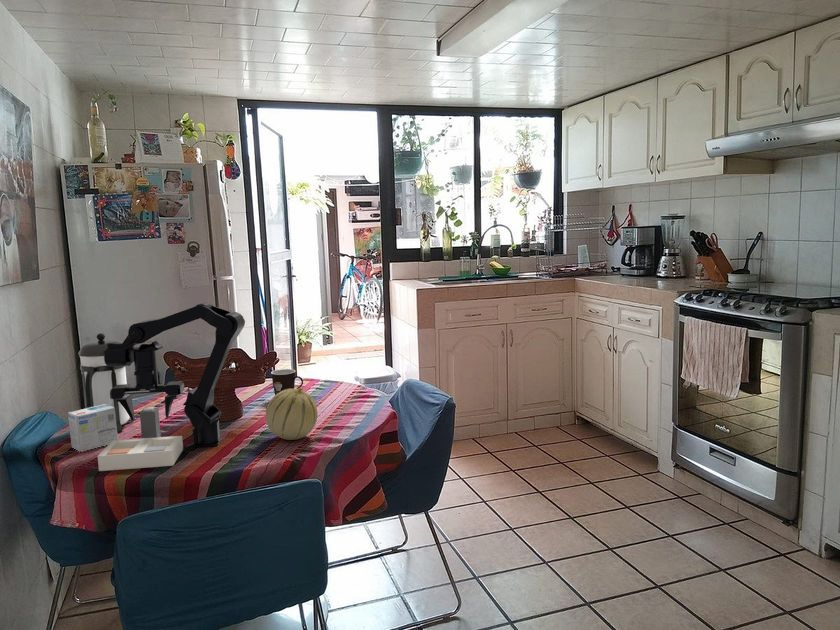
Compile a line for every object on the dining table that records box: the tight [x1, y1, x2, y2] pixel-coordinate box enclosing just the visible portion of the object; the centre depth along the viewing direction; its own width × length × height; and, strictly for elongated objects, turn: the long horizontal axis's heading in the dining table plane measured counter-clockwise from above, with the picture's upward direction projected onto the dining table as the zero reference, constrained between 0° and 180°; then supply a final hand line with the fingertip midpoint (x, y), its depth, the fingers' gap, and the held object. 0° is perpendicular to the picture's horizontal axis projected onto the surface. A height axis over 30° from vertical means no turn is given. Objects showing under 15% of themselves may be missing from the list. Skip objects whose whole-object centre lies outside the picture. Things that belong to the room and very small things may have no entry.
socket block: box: [97, 435, 184, 472], centre depth 163 cm, size 18×12×4 cm, turn 99°
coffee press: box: [78, 332, 134, 434], centre depth 188 cm, size 17×16×30 cm
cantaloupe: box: [265, 387, 319, 441], centre depth 177 cm, size 15×15×15 cm
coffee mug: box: [270, 368, 304, 396], centre depth 219 cm, size 12×9×10 cm
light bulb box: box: [67, 404, 119, 452], centre depth 175 cm, size 11×7×11 cm, turn 141°
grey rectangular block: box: [139, 406, 162, 438], centre depth 175 cm, size 4×4×11 cm
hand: (150, 419), depth 175 cm, fingers open, 9 cm apart
